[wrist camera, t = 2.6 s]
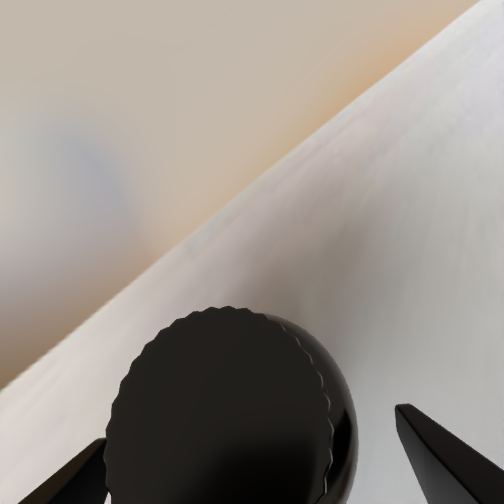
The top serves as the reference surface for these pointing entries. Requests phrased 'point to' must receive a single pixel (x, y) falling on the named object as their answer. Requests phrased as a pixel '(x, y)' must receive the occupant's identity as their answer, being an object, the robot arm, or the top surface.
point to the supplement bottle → (232, 416)
